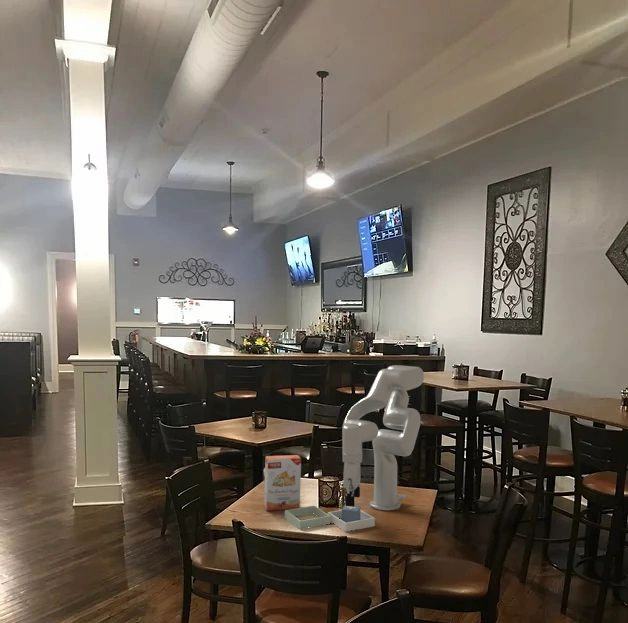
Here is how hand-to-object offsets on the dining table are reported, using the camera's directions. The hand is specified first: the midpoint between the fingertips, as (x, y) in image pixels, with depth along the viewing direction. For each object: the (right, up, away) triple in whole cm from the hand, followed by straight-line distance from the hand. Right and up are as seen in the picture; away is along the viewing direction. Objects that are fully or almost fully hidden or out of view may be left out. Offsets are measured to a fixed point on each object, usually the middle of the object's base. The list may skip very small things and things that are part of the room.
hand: (353, 501), depth 211 cm
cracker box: (-28, -8, +14) cm, 32 cm away
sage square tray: (-18, -8, 0) cm, 19 cm away
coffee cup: (-33, -8, +29) cm, 44 cm away
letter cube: (-1, -8, -1) cm, 8 cm away
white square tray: (-1, -8, -1) cm, 8 cm away
